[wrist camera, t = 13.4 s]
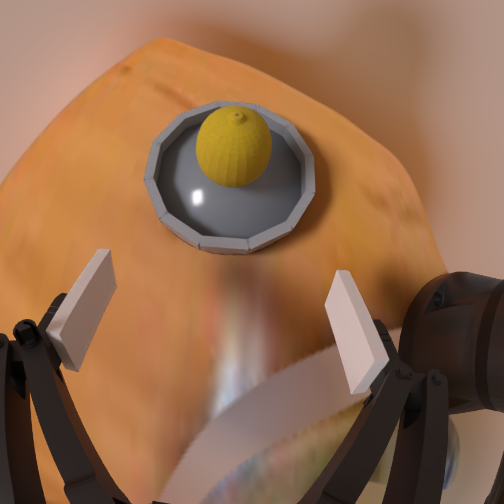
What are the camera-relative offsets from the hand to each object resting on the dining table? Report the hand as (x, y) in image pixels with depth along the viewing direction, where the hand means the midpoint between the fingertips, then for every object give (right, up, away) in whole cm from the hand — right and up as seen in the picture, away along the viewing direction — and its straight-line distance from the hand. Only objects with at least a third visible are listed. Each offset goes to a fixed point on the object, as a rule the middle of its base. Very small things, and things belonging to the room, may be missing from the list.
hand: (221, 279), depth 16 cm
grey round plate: (0, +8, +9) cm, 12 cm away
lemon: (0, +8, +8) cm, 12 cm away
